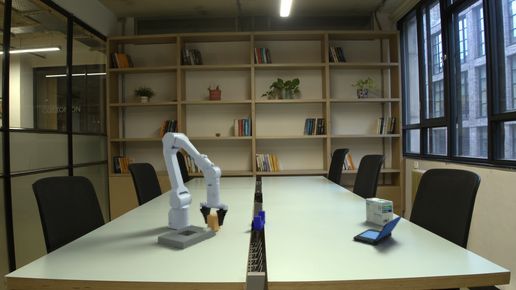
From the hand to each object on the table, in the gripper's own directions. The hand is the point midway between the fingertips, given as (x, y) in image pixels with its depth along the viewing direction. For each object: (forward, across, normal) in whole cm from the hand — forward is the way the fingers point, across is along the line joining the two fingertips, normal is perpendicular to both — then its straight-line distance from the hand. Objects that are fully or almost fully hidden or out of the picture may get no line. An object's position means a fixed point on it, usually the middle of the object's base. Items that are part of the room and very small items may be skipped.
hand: (213, 224), depth 129 cm
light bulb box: (+3, +61, +47) cm, 77 cm away
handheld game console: (+3, +64, +22) cm, 68 cm away
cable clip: (+3, +14, +15) cm, 21 cm away
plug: (+3, 0, 0) cm, 3 cm away
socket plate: (+3, -2, -14) cm, 14 cm away
